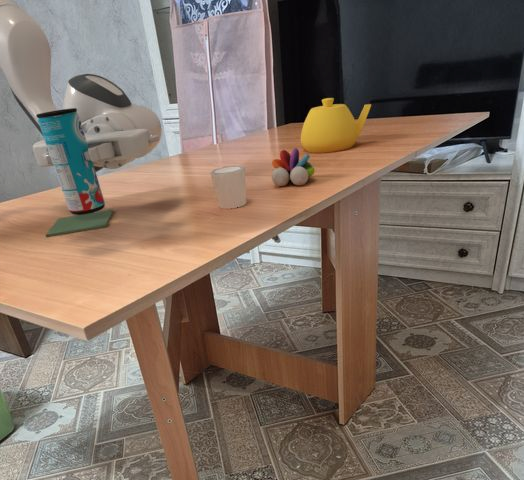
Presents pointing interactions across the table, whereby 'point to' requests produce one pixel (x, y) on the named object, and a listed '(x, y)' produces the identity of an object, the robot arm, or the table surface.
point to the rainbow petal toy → (291, 168)
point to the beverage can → (71, 160)
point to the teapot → (331, 127)
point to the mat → (80, 223)
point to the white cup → (230, 186)
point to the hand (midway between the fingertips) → (67, 158)
